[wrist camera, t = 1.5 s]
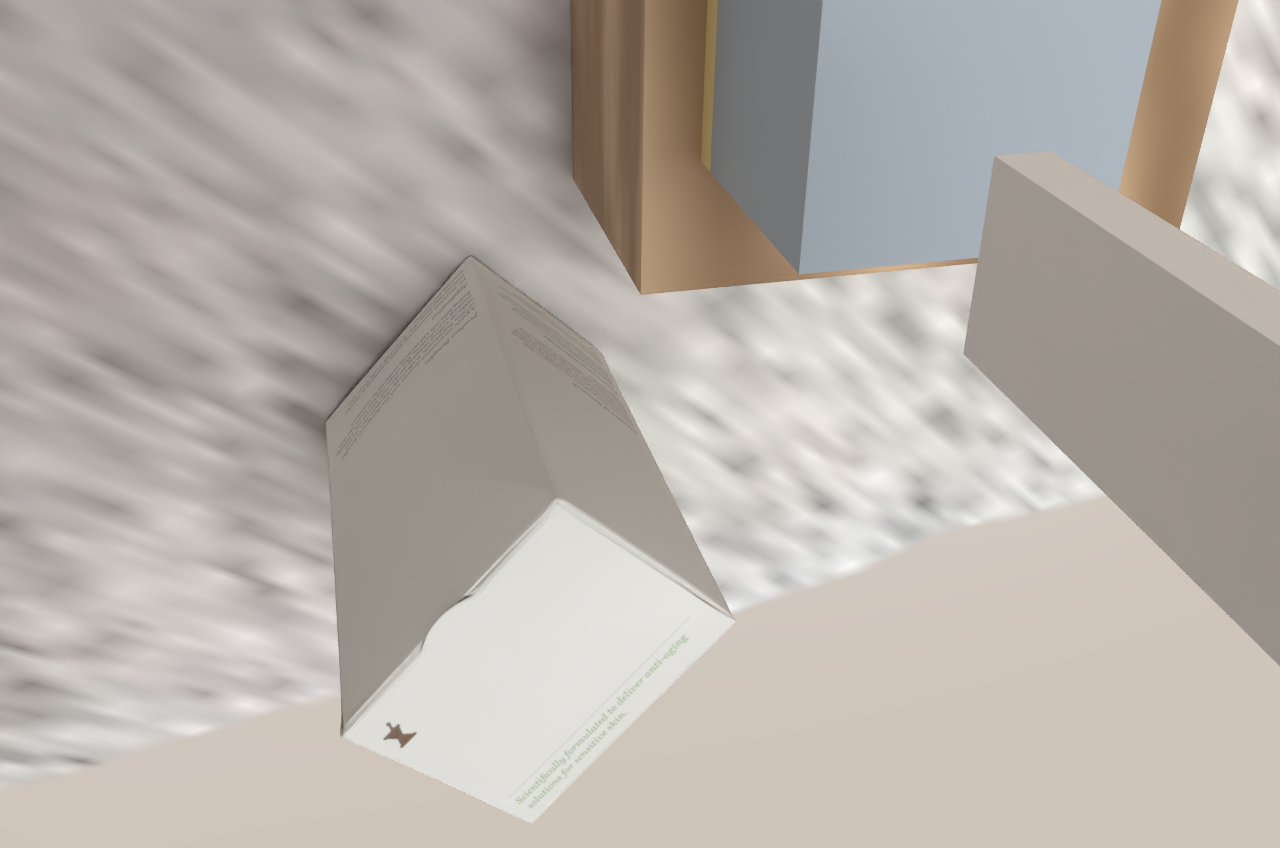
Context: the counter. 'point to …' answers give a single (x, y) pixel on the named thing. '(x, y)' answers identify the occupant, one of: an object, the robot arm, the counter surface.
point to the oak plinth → (712, 220)
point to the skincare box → (504, 552)
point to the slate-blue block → (908, 114)
